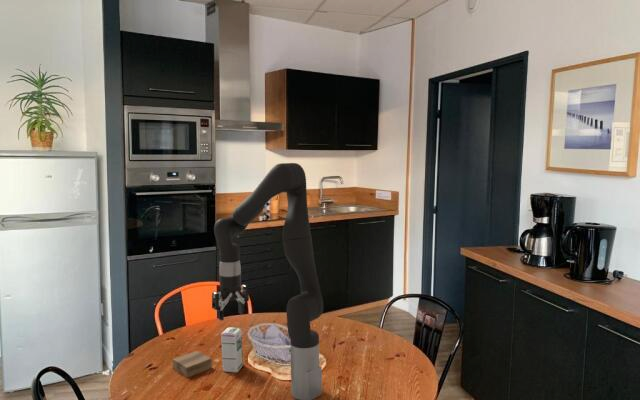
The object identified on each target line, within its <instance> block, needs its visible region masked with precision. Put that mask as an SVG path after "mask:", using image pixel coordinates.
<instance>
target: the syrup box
mask: <svg viewBox="0 0 640 400" xmlns="http://www.w3.org/2000/svg"><path fill="white" fill-rule="evenodd" d="M242 334H243V333H242V328H241V327H231V326H229V327H227V328H225V330H223V331H222V332H221V333H220V337H221V338H220V339H221V341H220V342H221V357H222V358H221V360H222V361H221V362H222V363H221V364H222V372H228V373H238V372H239V371H240V370H241V368H243V366H244V357H243V339H242V338H243V336H242Z"/></svg>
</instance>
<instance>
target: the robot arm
mask: <svg viewBox="0 0 640 400" xmlns="http://www.w3.org/2000/svg"><path fill="white" fill-rule="evenodd" d="M306 178H307V176H306V171H305V170H304V168H303V167H302V165H300V164H299V163H295V162H287V163H284V162H283V163H278V164H275V165H274V166H273V167H272V168H271V169H270V170H269V171H268V173H267V174H266V175H265V176H264V177H263V179H262V180H261V182H259V184H258V185H257V187H256V188H255V189H254V190H253V192H251V193H250V194H249V195H248V196H247V197H246V198H245V199H244V200H242V202H240V204H238V205H237V206H236V207H235V208H234V210H233V211H232V216H228V217H223V218H222V217H221V218H219V219H218V220H216V222H215V223H214V227H213V233H214V237H215V240H216V244H217V247H218V250H219V251H218V252H219V266H218V267H219V268H218V272H219V279H218V280H219V289H220V290H219V291H218V292H216V291H213V292H212V293H211V297H212V298H211V309H213V310H216V315H217V319H218V320H219V321H224V318H225V317H224V308H225V306H226V305H227V304H228V303H230V302H233V301H237V309H238V311H237V313H238V314H239V315H244V312H245V303H247V302H249V300H250V296H249V295H250V293H249V286H248V285H246V284H242V271H241V270H242V268H241V261H240V260H241V259H240V257H241V255H240V250H241V249H240V246H239V244H237V243H235V242H232V240H231V238H232V237H236V236H238V235H241V234H242V233H243V232H245V230H246V229H247V227H248V226H249V224H250V223H251V222H253V221H254V220H255V219H256V218H257V217H259V216H260V215H261V213H262V212H263V210H264V209H265V207H266V205H267V203H268V202H269V201H270V200H271V199H273V198H275V197H276V196H278V195H280V194H282V193H286V198H287V212H286V216H285V219H284V223H283V228H282V234H281V235H282V243H283V252H284V254H285V259H287V261H288V263H289V264H290V266H291V268H292V269H293V270H294V271H295V273H296V274H297V275H296V276H297V277H298V281H299V285H300V286H299V287H300V293H299V294H297V295H294V296H292V297H290V298H289V300H288V302H287V304H286V323H287V324H286V325H287V327H286V328H287V333H288V337H289V340H290V388H291V390H290V391H291V393H290V395H291V396H292V397H293V399H296V400H315V399H316V398H318V397H320V396H322V395H323V393H322V392H323V389H322V388H323V386H322V385H323V383H322V382H323V377H322V375H323V374H322V369H323V368H322V366H321V365H320V335H319V333H318V332H317V331H315V330H313V329H311V322H312V321H315V320H317V319H318V318H320V317H321V316H322V314H323V312H324V300H323V296H322V292H321V287H320V284H319V278H318V274H317V268H316V262H315V256H314V246H313V238H312V232H311V226H310V218H309V211H308V197H307V194H308V193H307V179H306ZM240 293H241V294H240Z"/></svg>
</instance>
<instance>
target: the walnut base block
mask: <svg viewBox="0 0 640 400" xmlns="http://www.w3.org/2000/svg"><path fill="white" fill-rule="evenodd" d="M212 359H213V358H212V357H210V356H208V355H206V354H204V353H202V352H201V351H199V350H195V351H192V352H188V353H186V354H182V355H181V356H178V357H174V358H172V369H173V370H175V371H176V372H178V373H179V374H181V375H182V376H184V377H185V378H190V377H193V376H195V375H198V374H200V373H203V372H205V371H207V370H210V369H212V368H213V365H212V363H213V362H212V361H213V360H212Z"/></svg>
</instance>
